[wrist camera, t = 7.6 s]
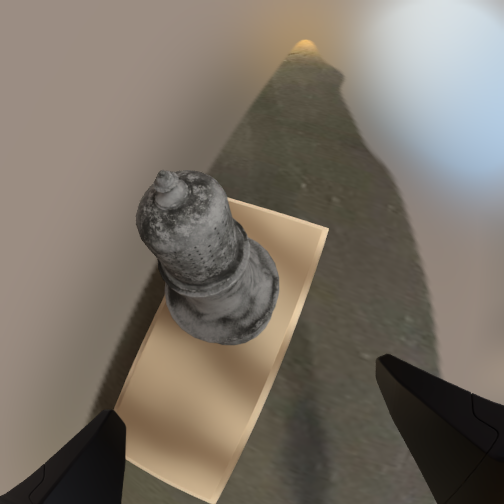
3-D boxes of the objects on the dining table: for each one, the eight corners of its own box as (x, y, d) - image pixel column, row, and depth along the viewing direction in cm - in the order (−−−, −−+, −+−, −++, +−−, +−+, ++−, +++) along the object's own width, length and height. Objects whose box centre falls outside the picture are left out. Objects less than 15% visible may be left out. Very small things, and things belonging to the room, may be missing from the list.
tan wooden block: (225, 485, 16) (213, 506, 12) (127, 435, 18) (99, 442, 14) (321, 252, 23) (329, 226, 19) (225, 221, 25) (217, 192, 21)
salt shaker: (298, 311, 17) (337, 183, 6) (218, 369, 16) (106, 342, 5) (241, 242, 19) (204, 81, 8) (168, 293, 18) (51, 176, 7)
